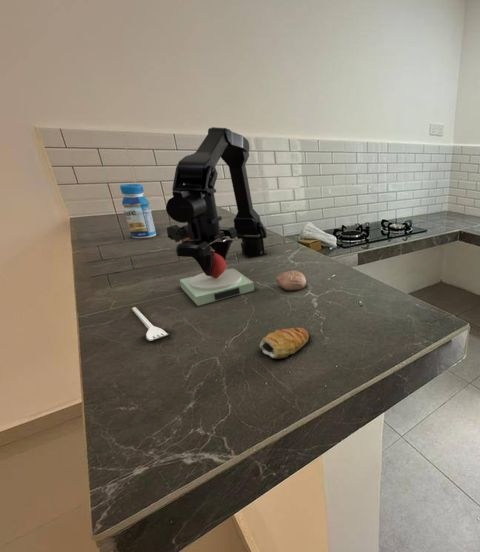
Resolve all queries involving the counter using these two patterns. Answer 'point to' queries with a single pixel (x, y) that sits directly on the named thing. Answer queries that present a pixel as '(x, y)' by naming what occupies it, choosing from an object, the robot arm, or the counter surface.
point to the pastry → (284, 342)
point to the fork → (150, 327)
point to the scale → (216, 286)
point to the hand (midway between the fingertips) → (214, 271)
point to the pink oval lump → (291, 280)
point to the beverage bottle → (137, 211)
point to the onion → (218, 265)
